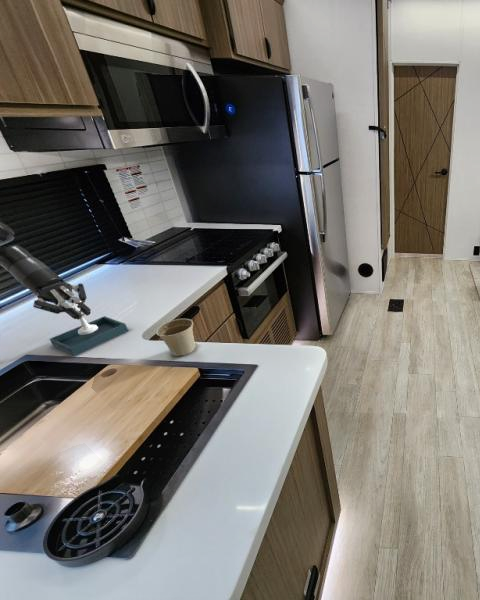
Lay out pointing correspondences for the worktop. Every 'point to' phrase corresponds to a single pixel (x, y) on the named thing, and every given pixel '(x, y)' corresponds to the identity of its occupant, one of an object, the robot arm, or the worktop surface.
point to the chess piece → (84, 323)
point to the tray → (88, 336)
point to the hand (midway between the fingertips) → (84, 315)
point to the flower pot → (178, 336)
